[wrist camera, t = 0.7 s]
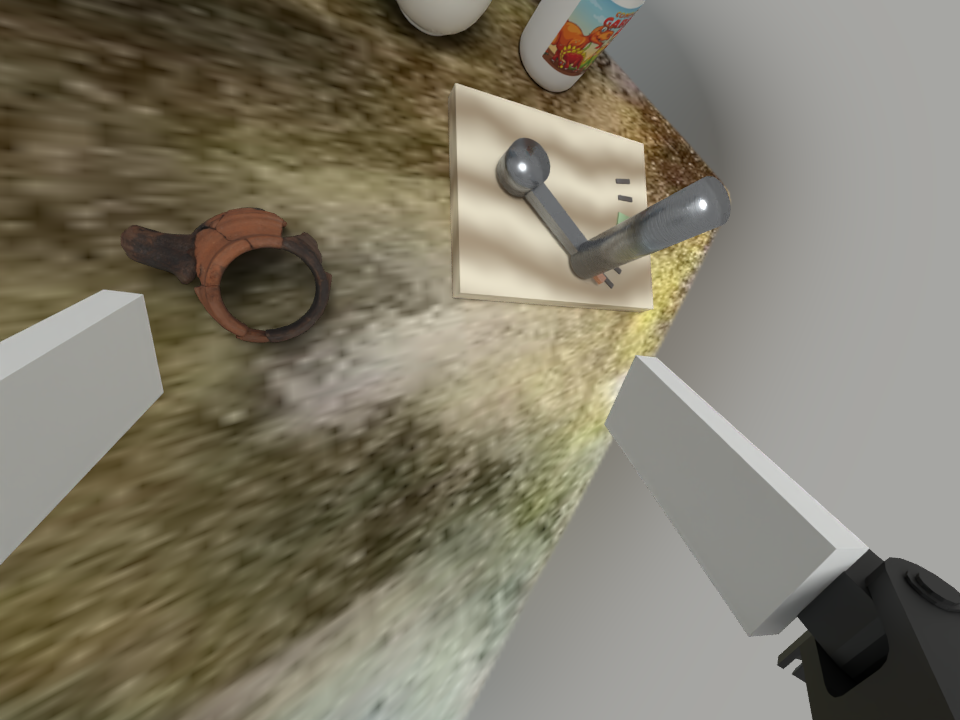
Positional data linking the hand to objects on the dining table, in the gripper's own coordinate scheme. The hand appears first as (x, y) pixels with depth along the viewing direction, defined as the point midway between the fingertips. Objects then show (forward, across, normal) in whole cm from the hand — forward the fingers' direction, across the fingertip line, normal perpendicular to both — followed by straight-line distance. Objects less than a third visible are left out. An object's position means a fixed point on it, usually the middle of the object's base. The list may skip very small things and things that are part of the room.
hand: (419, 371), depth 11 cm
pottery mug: (+22, -12, -6) cm, 26 cm away
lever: (+30, +14, +1) cm, 33 cm away
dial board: (+33, +15, +1) cm, 37 cm away
